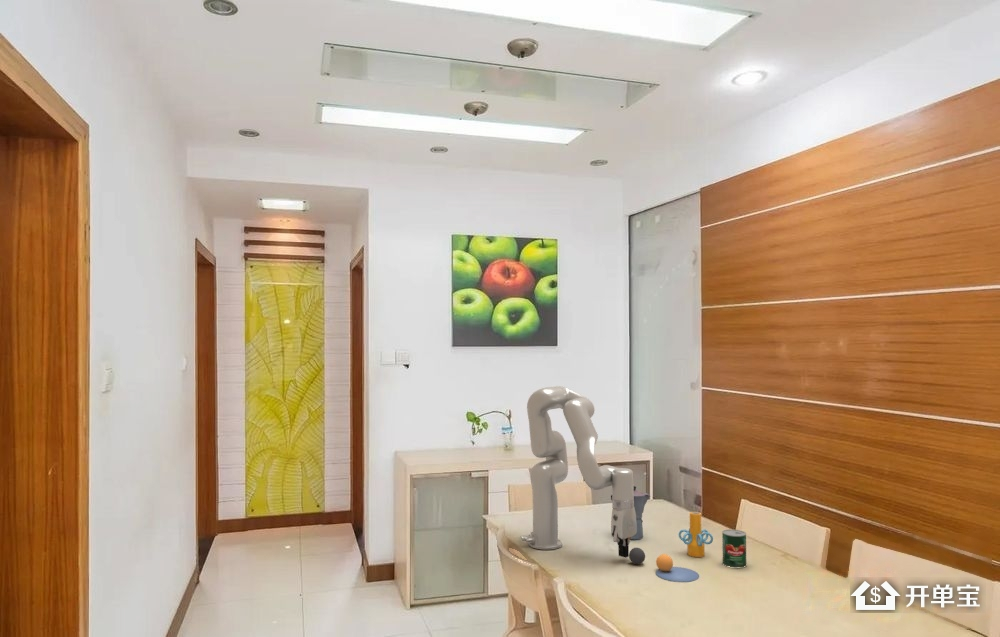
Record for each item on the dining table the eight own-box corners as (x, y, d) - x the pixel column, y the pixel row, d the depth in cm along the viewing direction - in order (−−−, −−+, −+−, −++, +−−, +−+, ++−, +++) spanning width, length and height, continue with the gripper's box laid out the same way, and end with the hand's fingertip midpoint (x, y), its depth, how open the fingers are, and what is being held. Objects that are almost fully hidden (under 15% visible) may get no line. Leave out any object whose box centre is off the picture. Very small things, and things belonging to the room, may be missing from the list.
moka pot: (653, 540, 262) (652, 488, 263) (613, 540, 262) (612, 488, 263) (648, 533, 271) (647, 483, 272) (609, 533, 272) (609, 483, 272)
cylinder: (675, 556, 243) (675, 514, 243) (682, 548, 252) (681, 508, 252) (710, 561, 237) (709, 518, 237) (715, 553, 246) (715, 511, 247)
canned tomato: (731, 569, 229) (730, 536, 229) (718, 562, 237) (717, 530, 237) (751, 567, 231) (751, 534, 231) (737, 559, 239) (737, 528, 239)
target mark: (669, 584, 215) (669, 583, 215) (648, 569, 229) (648, 569, 229) (707, 579, 219) (707, 578, 219) (684, 565, 233) (684, 565, 233)
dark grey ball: (626, 550, 233) (630, 566, 232) (642, 547, 232) (646, 564, 231) (627, 548, 239) (631, 564, 237) (643, 545, 238) (647, 561, 236)
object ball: (651, 563, 227) (664, 572, 223) (659, 549, 228) (673, 558, 224) (656, 567, 231) (669, 576, 227) (664, 553, 232) (677, 562, 228)
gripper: (620, 509, 231) (620, 563, 231) (643, 502, 242) (644, 553, 241) (602, 506, 236) (602, 559, 236) (625, 498, 247) (626, 549, 247)
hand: (623, 556), depth 239 cm, fingers closed
